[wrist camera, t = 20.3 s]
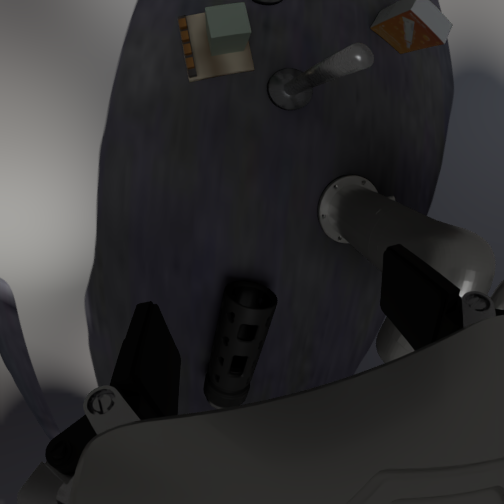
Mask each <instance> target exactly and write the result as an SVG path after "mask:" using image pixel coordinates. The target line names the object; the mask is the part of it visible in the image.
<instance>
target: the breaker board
mask: <svg viewBox="0 0 504 504" xmlns="http://www.w3.org/2000/svg"><path fill="white" fill-rule="evenodd" d="M178 22H179V28H180V34H181V39H182V45H183V50H184V56H185V61H186V66H187V72H188V77H189V82H194V81H198V80H203V79H208V78H213V77H218V76H223V75H229V74H235V73H242V72H248V71H254V65H253V60H252V56H251V51H250V46H249V42H247V44H246V47H245V49H244V51H240V52H234V53H227V54H221V55H216V56H211V52H210V47H209V42H208V37H207V32H206V19H205V13H200V14H195V15H190V16H186V15H184V16H179V17H178Z"/></svg>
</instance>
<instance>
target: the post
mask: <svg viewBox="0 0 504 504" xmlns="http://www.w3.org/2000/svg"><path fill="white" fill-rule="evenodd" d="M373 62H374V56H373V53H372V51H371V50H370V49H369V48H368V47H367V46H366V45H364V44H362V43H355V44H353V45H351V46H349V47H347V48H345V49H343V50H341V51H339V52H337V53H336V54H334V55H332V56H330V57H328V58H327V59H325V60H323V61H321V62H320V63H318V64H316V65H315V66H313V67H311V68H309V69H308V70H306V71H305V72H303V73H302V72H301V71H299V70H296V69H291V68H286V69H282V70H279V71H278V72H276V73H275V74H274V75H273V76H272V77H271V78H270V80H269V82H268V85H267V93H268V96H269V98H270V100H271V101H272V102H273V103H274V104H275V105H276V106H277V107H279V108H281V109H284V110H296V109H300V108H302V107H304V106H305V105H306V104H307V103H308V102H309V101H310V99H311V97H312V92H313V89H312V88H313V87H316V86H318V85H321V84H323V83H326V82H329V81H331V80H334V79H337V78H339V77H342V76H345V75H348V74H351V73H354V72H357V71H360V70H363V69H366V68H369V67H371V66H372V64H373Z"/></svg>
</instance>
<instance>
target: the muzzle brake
mask: <svg viewBox="0 0 504 504" xmlns="http://www.w3.org/2000/svg"><path fill="white" fill-rule="evenodd" d="M232 295H233V296H232ZM258 298H261V299H262V302H261V305H260V303H259V301H258ZM277 301H278V300H277V297H276V295H275V294H274V293H273V292H272V291H271V290H270V289H268V288H267V287H265V286H263V285H261V284H258V283H255V282H249V281H235V282H232V283H230V284H228V285H227V286H226V288H225V291H224V295H223V300H222V305H221V310H220V315H219V319H218V324H217V329H216V334H215V339H214V344H213V349H212V354H211V359H210V364H209V369H208V373H207V374H206V377H205V382H204V394H205V396H206V398H207V401H208V402H209V404H210V405H211V406H213V407H214V408H216V409H222V408H228V407H233V406H239V405H240V404H242V403H243V402H244V401H245V399H246V397H247V394H248V391H249V388H250V381H251V379H252V376H253V373H254V370H255V367H256V365H257V362H258V359H259V356H260V353H261V350H262V347H263V344H264V341H265V338H266V335H267V332H268V329H269V326H270V323H271V320H272V317H273V314H274V311H275V308H276V305H277ZM253 325H254V326H253Z"/></svg>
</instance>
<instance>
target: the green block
mask: <svg viewBox="0 0 504 504" xmlns="http://www.w3.org/2000/svg"><path fill="white" fill-rule="evenodd" d="M205 19H206V32H207V37H208V42H209V47H210V52H211V56H216V55H221V54H227V53H234V52H240V51H244V49H245V47H246V44H247V42H248V39H249V37H250V35H251V28H250V24H249V20H248V15H247V11H246V7H245V3H244V2H242V3H233V4H225V5H218V6H212V7H206V8H205Z"/></svg>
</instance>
